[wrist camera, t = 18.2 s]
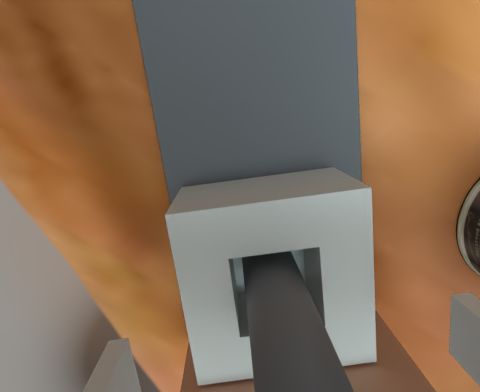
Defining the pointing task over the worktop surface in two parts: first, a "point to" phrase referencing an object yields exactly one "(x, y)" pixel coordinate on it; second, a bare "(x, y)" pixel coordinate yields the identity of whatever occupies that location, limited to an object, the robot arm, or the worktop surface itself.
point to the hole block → (265, 242)
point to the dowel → (287, 330)
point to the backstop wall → (360, 375)
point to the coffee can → (470, 229)
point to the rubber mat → (251, 87)
